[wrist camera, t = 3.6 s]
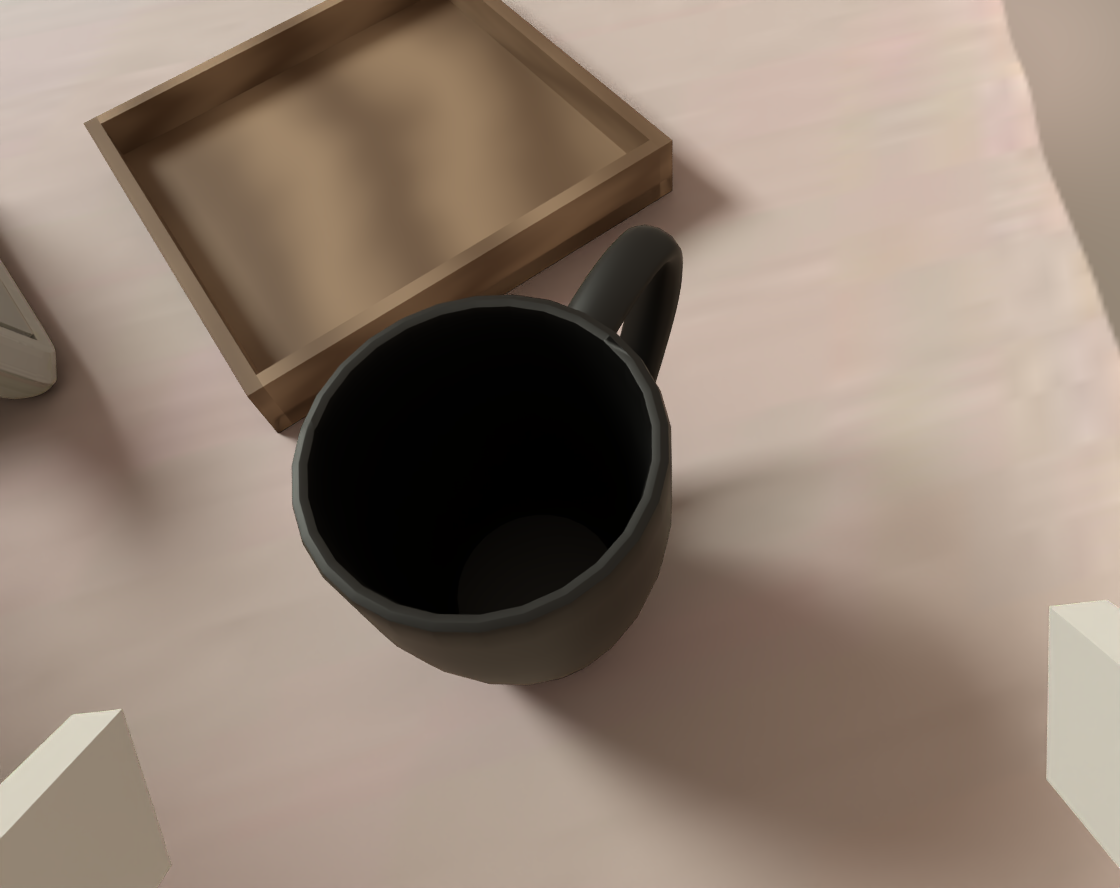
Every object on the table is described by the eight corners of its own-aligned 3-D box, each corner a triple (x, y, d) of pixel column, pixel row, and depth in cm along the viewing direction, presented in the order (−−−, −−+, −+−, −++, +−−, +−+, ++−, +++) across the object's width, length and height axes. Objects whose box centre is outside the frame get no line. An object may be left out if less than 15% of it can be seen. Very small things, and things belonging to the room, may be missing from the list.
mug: (780, 461, 27) (828, 265, 19) (572, 789, 23) (516, 724, 15) (573, 356, 30) (536, 147, 22) (357, 630, 26) (209, 500, 18)
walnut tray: (278, 433, 30) (247, 396, 28) (117, 168, 38) (83, 123, 36) (672, 190, 33) (672, 140, 31) (446, -5, 41) (434, -55, 39)
